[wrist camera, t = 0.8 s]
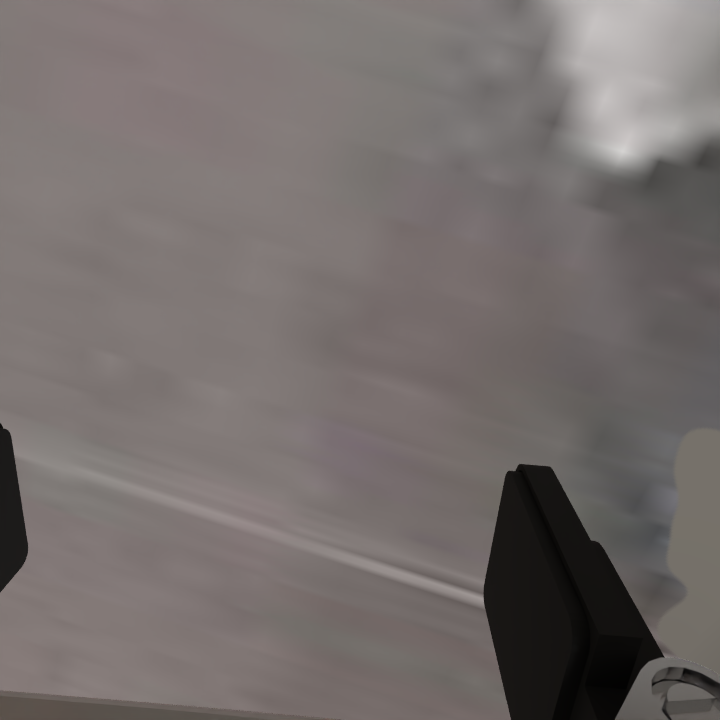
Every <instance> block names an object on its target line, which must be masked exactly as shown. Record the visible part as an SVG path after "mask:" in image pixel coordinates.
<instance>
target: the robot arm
mask: <svg viewBox="0 0 720 720" xmlns="http://www.w3.org/2000/svg"><path fill="white" fill-rule="evenodd" d="M27 553H28V542H27V536H26V529H25V523H24V516H23V510H22V503H21V497H20V491H19V484H18V478H17V471H16V465H15V458H14V452H13V445H12V439H11V435H10V433H9V431H8V430H6V429H3V426H2V425H1V424H0V592H1V591H2V590H3V589H4V587H5V586H6V585H7V584H8V583H9V581H10V580H11V579H12V578H13V577H14V575H15V574H16V573H17V572H18V571H19V570H20V568H21V567H22V566H23V564H24V562H25V560H26V557H27ZM484 604H485V609H486V613H487V618H488V622H489V626H490V631H491V635H492V639H493V644H494V648H495V652H496V656H497V661H498V665H499V669H500V674H501V678H502V682H503V687H504V691H505V695H506V700H507V704H508V708H509V712H510V717H511V720H720V675H718V674H717V673H715V672H714V671H712V670H710V669H708V668H706V667H704V666H701V665H699V664H697V663H694V662H691V661H687V660H683V659H679V658H665V657H664V656H663V654H662V652H661V650H660V648H659V647H658V645H657V643H656V641H655V639H654V638H653V636H652V634H651V632H650V631H649V629H648V627H647V625H646V623H645V622H644V620H643V618H642V616H641V614H640V613H639V611H638V609H637V607H636V606H635V604H634V602H633V600H632V598H631V597H630V595H629V593H628V591H627V589H626V588H625V586H624V584H623V582H622V580H621V579H620V577H619V575H618V573H617V572H616V570H615V568H614V566H613V564H612V563H611V561H610V559H609V557H608V555H607V554H606V552H605V550H604V549H603V547H602V546H601V545H600V543H598V542H596V541H591V540H590V538H589V536H588V534H587V532H586V531H585V529H584V527H583V525H582V523H581V521H580V519H579V518H578V516H577V514H576V512H575V510H574V508H573V506H572V505H571V503H570V501H569V499H568V497H567V495H566V493H565V492H564V490H563V488H562V486H561V484H560V482H559V480H558V479H557V477H556V475H555V473H554V471H553V469H552V468H551V467H548V466H537V465H525V464H519V465H518V467H517V469H516V471H508V472H507V474H506V476H505V481H504V486H503V491H502V496H501V501H500V506H499V512H498V517H497V522H496V527H495V532H494V537H493V542H492V547H491V553H490V558H489V563H488V568H487V573H486V578H485V584H484ZM0 720H340V719H329V718H318V717H307V716H296V715H284V714H273V713H262V712H251V711H240V710H228V709H217V708H205V707H194V706H182V705H170V704H158V703H146V702H134V701H122V700H110V699H98V698H86V697H74V696H62V695H50V694H37V693H25V692H13V691H0Z"/></svg>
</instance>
